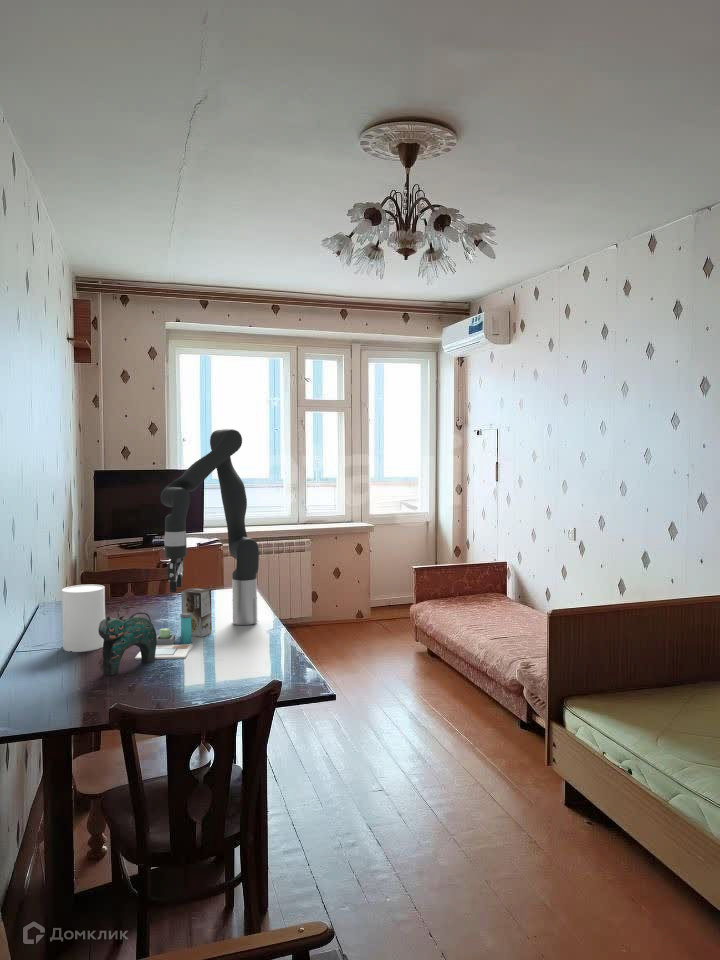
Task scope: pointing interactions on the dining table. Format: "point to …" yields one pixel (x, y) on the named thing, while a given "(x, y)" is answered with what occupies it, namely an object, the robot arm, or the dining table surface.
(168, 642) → the button housing
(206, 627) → the coffee box
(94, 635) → the canister
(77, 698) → the dining table surface
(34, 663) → the dining table surface
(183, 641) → the teal capped bottle
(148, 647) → the ceramic cat
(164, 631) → the button
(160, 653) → the sheet
